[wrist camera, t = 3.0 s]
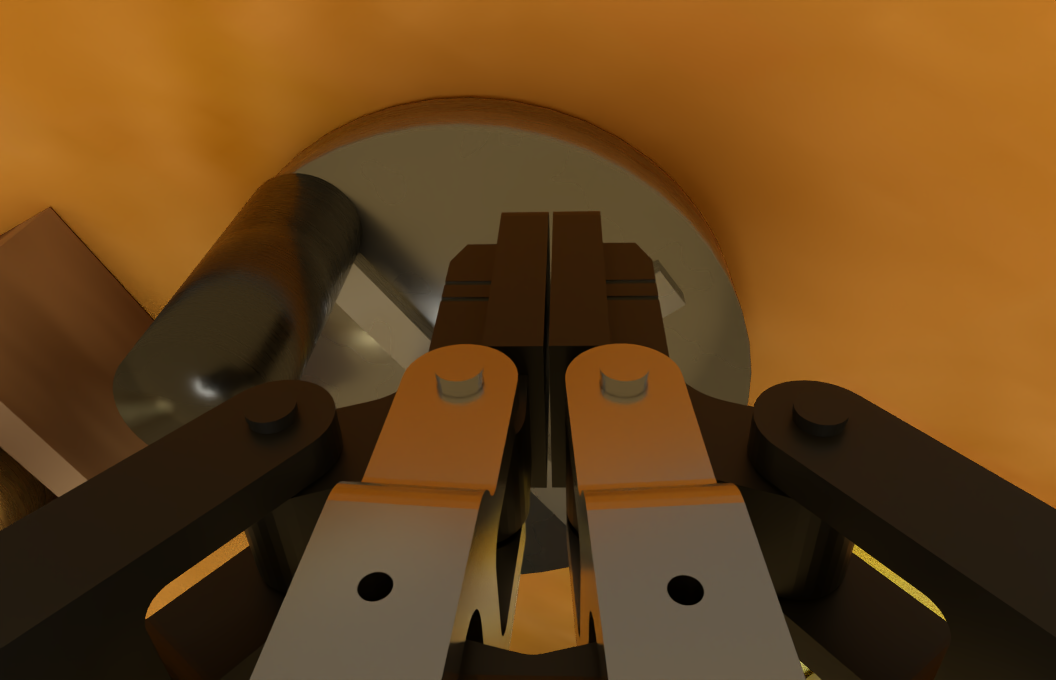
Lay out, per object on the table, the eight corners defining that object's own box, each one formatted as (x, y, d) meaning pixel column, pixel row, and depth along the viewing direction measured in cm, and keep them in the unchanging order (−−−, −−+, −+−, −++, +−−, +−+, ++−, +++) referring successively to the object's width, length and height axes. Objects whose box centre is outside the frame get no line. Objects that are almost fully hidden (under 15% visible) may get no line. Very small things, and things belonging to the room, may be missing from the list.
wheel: (827, 392, 21) (944, 665, 15) (454, 577, 26) (414, 845, 19) (518, -45, 16) (481, 76, 9) (116, 295, 20) (-100, 534, 14)
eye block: (235, 410, 23) (160, 546, 19) (58, 486, 25) (-43, 624, 21) (50, 207, 19) (-91, 318, 15) (-137, 314, 22) (-305, 438, 17)
